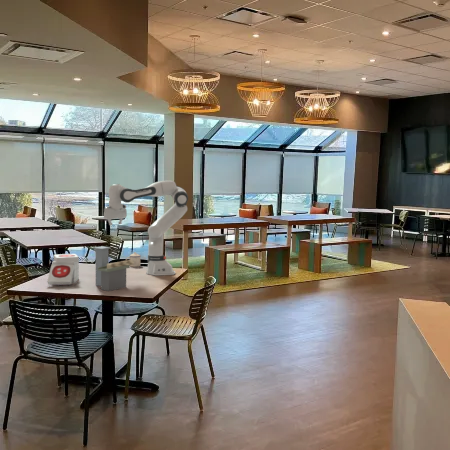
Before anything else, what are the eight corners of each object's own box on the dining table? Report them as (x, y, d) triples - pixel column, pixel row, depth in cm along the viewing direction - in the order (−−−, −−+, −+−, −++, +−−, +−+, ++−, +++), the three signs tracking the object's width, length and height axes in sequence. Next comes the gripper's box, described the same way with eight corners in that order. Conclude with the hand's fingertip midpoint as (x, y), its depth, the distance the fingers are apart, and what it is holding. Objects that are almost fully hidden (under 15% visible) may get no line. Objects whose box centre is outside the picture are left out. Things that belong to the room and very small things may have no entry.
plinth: (102, 283, 349) (102, 246, 346) (110, 284, 344) (110, 247, 342) (93, 285, 342) (93, 247, 340) (101, 286, 338) (101, 248, 335)
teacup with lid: (141, 265, 423) (141, 251, 422) (139, 267, 414) (139, 253, 412) (126, 265, 422) (126, 251, 421) (125, 266, 413) (125, 252, 412)
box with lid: (119, 284, 345) (119, 263, 344) (129, 286, 340) (129, 264, 339) (97, 289, 328) (97, 267, 327) (107, 291, 323) (107, 269, 322)
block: (130, 264, 348) (130, 259, 348) (133, 264, 346) (133, 260, 346) (106, 268, 330) (106, 263, 329) (110, 268, 328) (110, 264, 328)
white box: (44, 287, 332) (44, 260, 331) (55, 278, 362) (55, 253, 361) (73, 287, 334) (73, 260, 332) (82, 278, 364) (82, 253, 362)
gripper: (107, 206, 359) (108, 226, 360) (127, 205, 376) (128, 224, 378) (101, 206, 363) (101, 225, 364) (121, 205, 380) (122, 223, 381)
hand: (115, 224), depth 371 cm, fingers open, 8 cm apart
